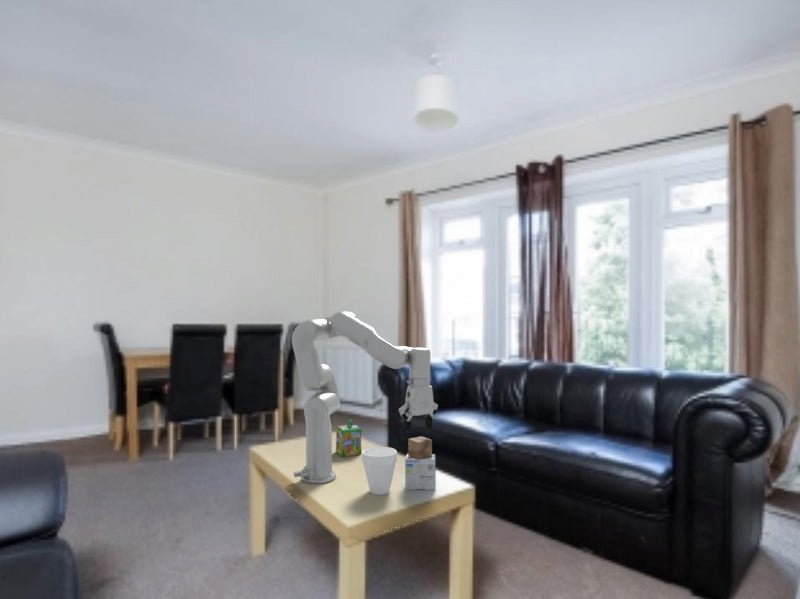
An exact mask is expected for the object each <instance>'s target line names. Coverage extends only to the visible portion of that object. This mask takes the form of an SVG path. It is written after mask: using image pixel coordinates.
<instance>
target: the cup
mask: <svg viewBox="0 0 800 599" xmlns="http://www.w3.org/2000/svg"><path fill="white" fill-rule="evenodd" d="M397 453H398V451H397V450H396V449H395V448H393V447H389V446H373V447H368V448H365V449H364V450H361V462H362V463H363V467H364V471H365V476H366V480H367V484H368V488H369V492H371V493H370V494H372V495H378V496H382V495H386V494H389V492H390V490H391V486H392V481H393V477H394V472H395V467H396V463H397V461H398V456H397Z"/></svg>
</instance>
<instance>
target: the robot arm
mask: <svg viewBox="0 0 800 599" xmlns="http://www.w3.org/2000/svg"><path fill="white" fill-rule="evenodd" d="M336 337H342V338H344V339H345V340H348V341H349V342H351V343H353V344H354V345H356V346H357V347H359V348H360V349H362V351H364V352H365V353H366V354H368V355H369V356H370V357H372V358H373V359H374V360H376V361H378V362H379V363H381V364H383V366H384V365H385V366H386V367H388V368H390V369H394V370H395V369H396V370H397V369H401V368H403V367H409V368H408V369H409V372H408V373H409V374H408V376H409V377H408V379H407V380H406V383H407V384H408V386H407V389H406V394H405V399H404V400H405V402H404V404H403V405H401V407H399V408H398V412H399V415H400V417H401V418H402V420H403V422H404V423H403V431H404V432H405V433H409V434H410V433H412V421H411V419H412V417H413V416H414V417H415V416H416V417H417V416H425V415H426V416H425V418H424V419H425V420H424V421H425V424H424V425H425V426H424V427H425V428H426V429H429V430H432V429H433V418H435V415H436V413H437V410H438V407H439V405H438V404H437V403H436V402H434V393H433V386H432V385H431V350H430V349H429V348H427V347H409V346H403V345H399V346H395V345H392V344H391V343H389V342H387V341H386V340H385V339H383V338H382V337H380V336H379V335H378V334H377V332H376V330H375V329H374V328H373V327H372V326H370V325H368V324H367V323H364V322H363V321H361V320H359V318H358V316H357V315H356V314H355V313H353V312H351V311H345V310H344V311H337V312H334V313H333V314H332V315H331V316H328V317H325V318H309V319H306V320H302V321H301V322H300V323H299V324H297V326H296V327H295V328H294V331H293V332H292V336H291V345H292V350H293V353H294V356H295V360H296V365H297V370H298V373H299V377H300V383H301V386H302V387H303V388H304V389H305V391H309V392H313V391H314V393H315V394H313V395H310V396H309V397H308V398H307V399H306V401H305V403H304V406H303V414H304V419H305V437H306V438H305V440H306V442H305V446H306V448H305V453H306V454H305V457H306V458H305V459H306V460H305V461H306V464H305V466H303V468H302V469H301V470H296V471H294V472H293V476H294V478H297V477H300V478H301V479H302V481H303V482H304V483H308V484H315V485H316V484H324V483H325V484H326V483H329V482H332V481H333V480H335V479H336V478H337V473H336V472H335V471H334V470H332V469H333V457H332V455H333V448H332V447H333V445H332V444H333V443H332V442H333V440H332V438H333V433H332V432H333V431H332V430H333V429H332V423H331V422H332V421H331V417H330V415H333V414H334V413H335V412H337V411H338V409H339V407H340V402H341V400H340V395H339V390H338V386H337V383H336V382H337V381H336V378H335V374H334V372H333V370H332V368H331V367H329V365H327V364H325V363H321V361H320V357H319V353H318V350H317V348H316V346H315V342H317V341H325V340H329V339H333V338H336Z"/></svg>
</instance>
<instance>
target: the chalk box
mask: <svg viewBox="0 0 800 599" xmlns="http://www.w3.org/2000/svg"><path fill="white" fill-rule="evenodd" d="M353 423H354V420H353V419H351V418H348V422H347V424H346V425H338V426H336V427H335V428H336V429H335V430H336V434H335V435H336V437H335V442H336V443H335V452H336V453H337V454H338V455H339V456H341V458H344V457H349V456H350V457H352V456H359V455H361V456H362V428H361V427H360V426H358V425H356V424H353Z"/></svg>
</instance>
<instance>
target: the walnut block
mask: <svg viewBox="0 0 800 599" xmlns="http://www.w3.org/2000/svg"><path fill="white" fill-rule="evenodd" d="M407 440H408V441H407V442H408V444H407V445H408V449H407V450H408V451H407V454H408V456H410V457H413V458H415V459H418V460H420V459H425V458H429V457H432V454H433V441H432V439H430V438H428V437H425V436H416V437H411V438H408V439H407Z"/></svg>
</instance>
